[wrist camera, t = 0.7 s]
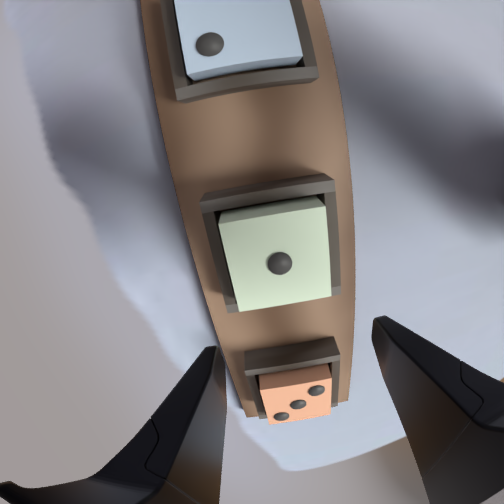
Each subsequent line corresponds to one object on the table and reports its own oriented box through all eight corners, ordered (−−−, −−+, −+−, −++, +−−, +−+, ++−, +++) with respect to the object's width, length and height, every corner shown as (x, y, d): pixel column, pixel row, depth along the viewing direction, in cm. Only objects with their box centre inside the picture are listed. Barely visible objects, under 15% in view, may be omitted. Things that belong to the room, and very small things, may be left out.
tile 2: (276, -14, 10) (281, -32, 8) (295, 64, 12) (303, 55, 10) (180, 2, 10) (171, -14, 8) (194, 81, 12) (186, 74, 10)
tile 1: (315, 195, 15) (325, 206, 13) (322, 277, 17) (331, 297, 15) (221, 211, 15) (218, 224, 13) (240, 291, 17) (239, 312, 15)
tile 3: (325, 358, 20) (332, 379, 18) (325, 396, 22) (330, 415, 20) (258, 369, 20) (259, 391, 18) (267, 405, 22) (269, 425, 20)
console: (301, -39, 10) (310, -62, 8) (345, 392, 25) (352, 416, 22) (143, -13, 11) (127, -32, 8) (246, 409, 26) (246, 433, 23)
